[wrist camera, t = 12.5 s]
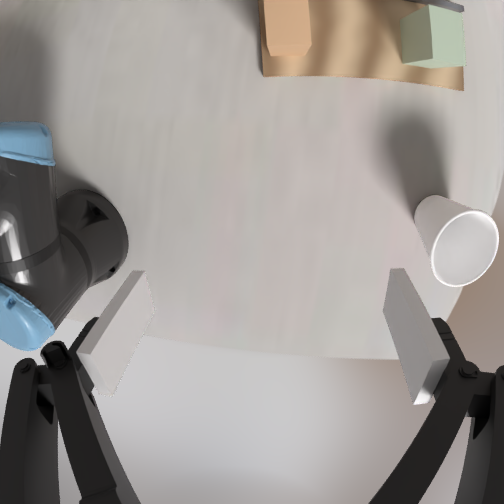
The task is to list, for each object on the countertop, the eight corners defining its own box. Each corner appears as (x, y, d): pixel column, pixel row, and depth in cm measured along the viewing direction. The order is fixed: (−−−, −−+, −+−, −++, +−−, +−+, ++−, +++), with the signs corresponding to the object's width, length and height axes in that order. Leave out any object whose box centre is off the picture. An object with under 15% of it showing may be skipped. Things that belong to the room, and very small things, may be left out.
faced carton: (270, 56, 33) (267, 45, 25) (267, 10, 30) (262, -12, 22) (305, 55, 32) (311, 44, 24) (301, 9, 29) (306, -14, 22)
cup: (419, 169, 38) (457, 195, 28) (470, 197, 39) (511, 228, 29) (389, 232, 43) (415, 273, 33) (440, 254, 43) (471, 295, 34)
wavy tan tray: (263, 77, 35) (262, 75, 33) (257, -11, 29) (255, -18, 27) (459, 90, 32) (469, 91, 30) (453, 8, 27) (463, 5, 24)
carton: (402, 63, 31) (432, 58, 23) (399, 19, 28) (428, 3, 20) (430, 68, 31) (466, 66, 23) (428, 24, 28) (461, 12, 20)
